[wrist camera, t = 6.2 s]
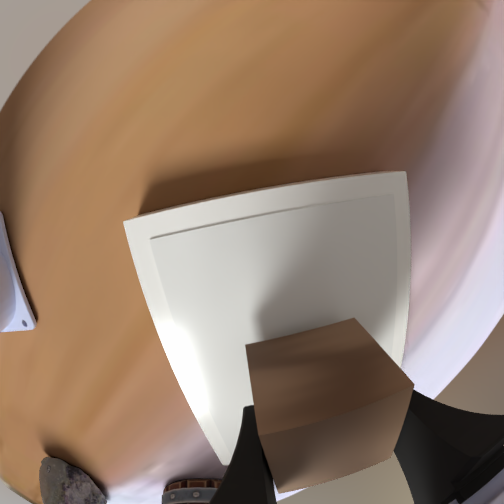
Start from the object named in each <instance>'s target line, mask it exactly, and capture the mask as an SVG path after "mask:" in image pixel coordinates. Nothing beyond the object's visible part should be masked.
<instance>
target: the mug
mask: <svg viewBox="0 0 504 504" xmlns="http://www.w3.org/2000/svg"><path fill="white" fill-rule="evenodd" d="M221 481H222V480H215V479H190V480H182V481H177V482H175V483H172V484H170V485H169V486H167V487H166V488H165V489H164V491H163V495H162V504H208V503H209V502H210V500H211V499H212V497H213V495H214V494H215V492H216V490H217V489H218V487H219V485H220V483H221Z"/></svg>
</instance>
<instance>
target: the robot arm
mask: <svg viewBox="0 0 504 504" xmlns="http://www.w3.org/2000/svg"><path fill="white" fill-rule="evenodd" d="M36 325H37V323H36V320H35V318H34V315H33V313H32V310H31V308H30V306H29V303H28V301H27V298H26V295H25V293H24V290H23V287H22V284H21V281H20V278H19V275H18V272H17V269H16V266H15V263H14V259H13V256H12V252H11V249H10V245H9V241H8V237H7V232H6V228H5V223H4V218H3V214H2V213H1V211H0V332H10V331H22V330H32V329H34V328H35V327H36ZM503 445H504V415H488V414H480V413H474V412H469V411H464V410H461V409H457V408H454V407H450V406H447V405H445V404H442V403H440V402H437V401H434V400H433V399H431V398H428V397H426V396H424V395H422V394H421V393H419V392H417V391H415V390H413V392H412V396H411V399H410V403H409V406H408V410H407V413H406V416H405V420H404V423H403V426H402V429H401V432H400V434H399V437H398V440H397V443H396V445H395V448H394V453H395V455H396V457H397V458H398V461H399V463H400V465H401V468H402V470H403V472H404V475H405V477H406V480H407V482H408V485H409V488H410V491H411V494H412V497H413V500H414V504H504V446H503ZM208 504H277V502H276V498H275V492H274V484H273V476H272V474H271V471H270V468H269V465H268V462H267V459H266V456H265V453H264V450H263V447H262V444H261V441H260V438H259V435H258V429H257V423H256V416H255V410H254V405H249V406H245V407H244V408H243V416H242V423H241V428H240V432H239V436H238V440H237V444H236V447H235V450H234V453H233V456H232V458H231V461H230V464H229V466H228V469H227V471H226V473H225V475H224V477H223V479H222V481H221V483H220V485H219V487H218V489H217V490H216V492H215V494H214V495H213V497H212V499H211V500H210V502H209V503H208Z"/></svg>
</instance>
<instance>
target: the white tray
mask: <svg viewBox="0 0 504 504" xmlns="http://www.w3.org/2000/svg"><path fill="white" fill-rule="evenodd" d="M123 223H124V227H125V231H126V235H127V239H128V243H129V246H130V250H131V254H132V257H133V261H134V264H135V268H136V271H137V274H138V277H139V281H140V284H141V287H142V290H143V293H144V296H145V299H146V302H147V305H148V308H149V310H150V313H151V316H152V319H153V321H154V324H155V327H156V329H157V332H158V335H159V337H160V340H161V342H162V345H163V347H164V350H165V352H166V355H167V357H168V359H169V362H170V364H171V366H172V369H173V371H174V373H175V375H176V378H177V380H178V382H179V384H180V386H181V388H182V391H183V393H184V395H185V397H186V399H187V401H188V403H189V405H190V407H191V409H192V411H193V413H194V415H195V417H196V419H197V421H198V423H199V424H200V426H201V428H202V430H203V432H204V434H205V436H206V437H207V439H208V441H209V443H210V444H211V446H212V448H213V450H214V451H215V453H216V455H217V456H218V458H219V460H220V461H221V463H222V465H229V464H230V461H231V458H232V456H233V453H234V450H235V447H236V444H237V440H238V436H239V432H240V428H241V423H242V416H243V408H244V407H245V406H249V405H254V403H253V396H252V390H251V383H250V376H249V369H248V362H247V355H246V348H245V344H250V343H255V342H260V341H265V340H269V339H274V338H278V337H283V336H287V335H291V334H295V333H299V332H303V331H307V330H311V329H315V328H319V327H323V326H326V325H330V324H333V323H337V322H340V321H344V320H347V319H351V318H355V319H356V320H357V321H358V322H359V323H360V324H361V325H362V326H363V327H364V329H365V330H366V331H367V332H368V333H369V334H370V335H371V336H372V337H373V338H374V339H375V341H376V342H377V343H378V344H379V345H380V346H381V347H382V348H383V349H384V351H385V352H386V353H387V354H388V355H389V356H390V357H391V358H392V359H393V361H394V362H395V363H396V364H397V365H398V366H399V367H400V368H401V364H402V358H403V352H404V345H405V338H406V330H407V321H408V310H409V297H410V279H411V226H410V208H409V195H408V184H407V175H406V171H381V172H371V173H362V174H353V175H345V176H337V177H330V178H322V179H315V180H308V181H302V182H295V183H289V184H283V185H277V186H271V187H265V188H260V189H254V190H249V191H243V192H238V193H233V194H228V195H223V196H218V197H213V198H209V199H204V200H199V201H195V202H190V203H186V204H182V205H177V206H173V207H169V208H165V209H161V210H157V211H153V212H149V213H145V214H141V215H137V216H135V217H132V218H130V219H128V220H125V221H123Z"/></svg>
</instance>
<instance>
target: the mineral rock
mask: <svg viewBox="0 0 504 504" xmlns="http://www.w3.org/2000/svg"><path fill="white" fill-rule="evenodd" d="M41 463H42V465H41V467H40V471H39V480H40V489H41V496H42V500H43V503H44V504H106V503H107V501H106V500H105V499H104V498H105V496H104V495H102V492H101V491H100V489H99V488H97V486H96V485H95V484H94V483H93V481H92V480H91V479H90V477H89V476H88V475H86V474H85V473H84V472H83V471H82V470H81V469H79V468H77V467H73V466H70V465H68V464H67V463H65V462H64V461H63V460H61V459H57V458H49V457H45V458H44V459H43V460H42V461H41Z"/></svg>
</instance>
